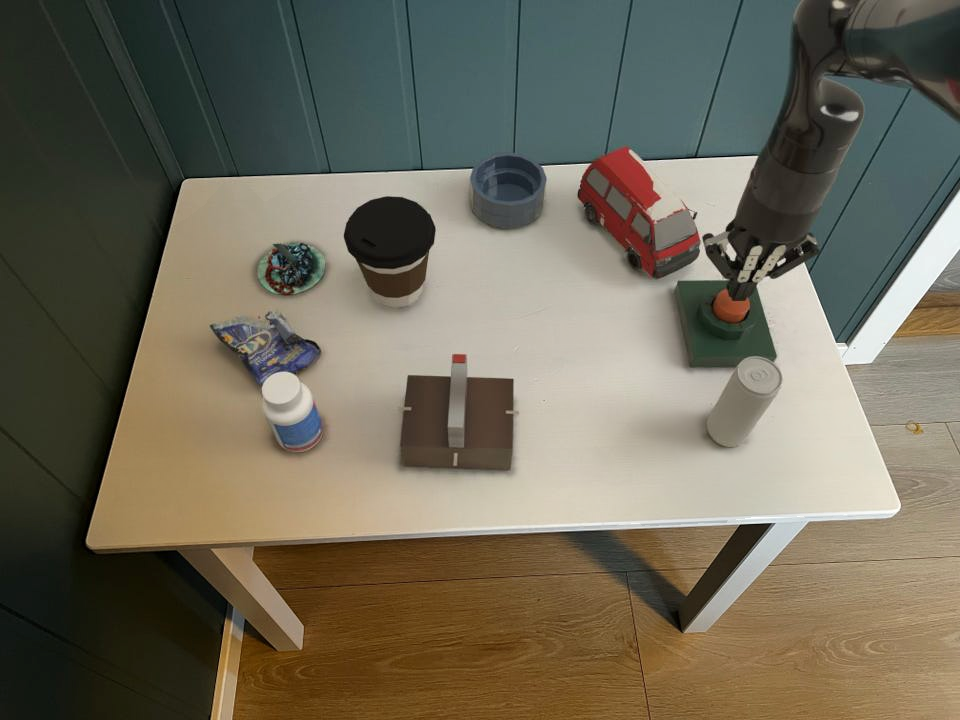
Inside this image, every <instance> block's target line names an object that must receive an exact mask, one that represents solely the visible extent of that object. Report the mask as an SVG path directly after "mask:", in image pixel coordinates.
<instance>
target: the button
mask: <svg viewBox="0 0 960 720" xmlns="http://www.w3.org/2000/svg"><path fill="white" fill-rule="evenodd" d="M749 307H750V302H749V299H748V297H747V299H746V301H732V299H731V297H729V295H728V291H727V289H725V290H722V291H721V292H719V293H718V295H717V297H716V299H715V302H714V304H713V311H714V314H715V315H716V316H717V317H718V318H719V319H720V320H722V321H724V322H728V323H736V322H739V321H741V320H743V319H744V317H745V315H746V313H747V311H748V309H749Z"/></svg>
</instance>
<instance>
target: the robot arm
mask: <svg viewBox="0 0 960 720" xmlns="http://www.w3.org/2000/svg"><path fill="white" fill-rule="evenodd" d="M790 26H791V27H790V33H789V54H788V55H789V56H788V67H787V77H786V85H785V89H784V94H783V98H782V102H781V105H780V108H779V110H778V113H777V116H776V118H775V121H774V123H773V126H772V128H771V130H770V133H769V135H768V138H767V140H766V141H765V144H764V145H763V146H762V148H761V150H760V152H759V153H758V155H757V158H756V161H755V163H754V166H753V167H752V169H751V170H750V173H749V177H748V180H747V183H746V186H744V187H745V188H744V190H743V192H742V194H741V198H740V200H739V203H738V205H737V208H736V211H735V216H734V217H733V219H732V220H730V221H729V223H727V225H726V226H725V229H724V230H725V231H723V232H721V233H719V234H717V235H714V234H713V233H711V232H707V233H705V234H703V235H702V236H701V239H702V243H703V247H704V251H705V255H706V256H707V258H708V259H709V261H710V262H711V263H712V264H713V266H714V267H715V268H716V269H717V271H718V272H719V274H720V276H722V277H723V278H724V280H728V282H727V285H726V287H727V291H728V295H729V297H731V299H732V301H746V299H747V297H750V296H751V295H752V294H753V292H754V290H755V288H756V286H757V287H758V284H759V283H760V282H762V281H764V278H767V277H769V278H770V279H772V280H775V279H778V278H780V277H782V276H783V275H785V274H787V273H789V272H790V271H793V270H794V269H796V268H797V267H798V266H800V265H803V264H804V263H806V262H807V261H809V260H810V259H812V258H814V257H815V256H818V255H819V254H820V251H821V250H820V248H819V244H818V242H817V238H816V237H815V235H814V233H813V232H809V231H810V229H811V227H812V225H813V223H814V221H815V220H816V218H817V216H818V214H819V212H820V210H821V208H822V206H823V204H824V203H825V200H826V199H827V197H828V195H829V193H830V192H831V190H832V187H833V186H834V183H835V182H836V179H837V176H838V173H839V170H840V167H841V165H842V162H843V160H844V158H845V157H846V155H847V154H848V151H849V149H850V148H851V146H852V144H853V141H854V140H855V138H856V136H857V135H858V132H859V130H860V128H861V126H862V124H863V121H864V118H865V115H866V114H865V113H866V106H865V104H864V103H865V102H864V100H863V99H862V98H861V96H860V95H859V94H858V93H857V92H856V91H855V90H853V88H850V87H849V86H847V85H845V84H842V83H840V82H838V81H835V80H833V79H830V78H828V76H829V77H838V78H849V79H858V80H865V81H866V80H868V81H870V82H872V83H876V84H879V85H885V86H889V87H896V88H902V89H908V90H914V92H916V93H917V94H918V95H920V96H921V97H923V98H924V99H925V100H927V101H928V102H929V103H931V105H934V106H935V107H936V108H938V109H939V110H940V111H942V112H943V113H944V114H946V116H947V117H949V118H951V119H952V120H953V121H954V122H955V123H957V124H959V125H960V0H800V2H799V3H798V4H797V7H796V8H795V11H794V13H793V16H792V21H791V25H790ZM825 76H827V77H825ZM729 244H730V246H731V248H732V249H733V251H734V253H735V257H734V259H733V260H732V259H731V257H730V256H729V255H728V253H727V250H728V247H727V246H728V245H729ZM784 259H785V260H784ZM783 260H784V262H783V263H781V264H779V265H778V263H779V262H781V261H783Z"/></svg>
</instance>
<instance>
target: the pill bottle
mask: <svg viewBox="0 0 960 720" xmlns="http://www.w3.org/2000/svg"><path fill="white" fill-rule="evenodd" d="M261 395H262V399H261V410H262V413H263V415H264V417H265V419H266V421H267V423H268V425H269V427H270V429H271V431H272V433H273V435H274V438H275V439H276V441H277V442H278V444H279V445H280V447H281V448H282V449H284V450H286V451H288V452H291V453H302V452H306V451H309V450H311V449H312V448H315V446H316V445H317V444H319V442H320V441H321V439H322V437H323V435H324V423H323V421H322V417H321V415H320V411H319V410H318V407H317V405H316V402H315V399H314V396H313V394H312V391H311V390H310V388H309V387H308V386H307V385H306V384H304V383H303V382H302V381H300V379H299V378H298V376H296V374H295V373H289V372H278V373H275V374H273V375H271V376H270V377H268V378H267V379H266V380H265V382H264V383H263V386H261Z"/></svg>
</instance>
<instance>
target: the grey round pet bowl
mask: <svg viewBox="0 0 960 720" xmlns="http://www.w3.org/2000/svg"><path fill="white" fill-rule="evenodd" d="M547 179H548V178H547V175H546V172H545V169H544V167H542V166H541V164H540V163H539V162H537V161H536V159H534V158H531V157H530V156H527V155H525V154H523V153H517V152H508V151H507V152H497V153H493V154H490V155H488V156H486V157H484V158H481V159H480V160H479V161H478V162H477V163H476V164H475V165H474V166H473V167H472V170H471V173H470V177H469V202H470V206H471V209H472V213H474V215H476V216H477V218H478V219H480V220H481V221H482V222H484V223H486V224H488V225H490V226H493V227H496V228H504V229H513V228H520V227H524V226H526V225H528V224H530V223H532V222H533V221H535V220H536V219H537V218H538V217H539V216H540V215H541V213H542V212H543V209H544V205H545V201H546V200H545V199H546V188H547Z"/></svg>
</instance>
